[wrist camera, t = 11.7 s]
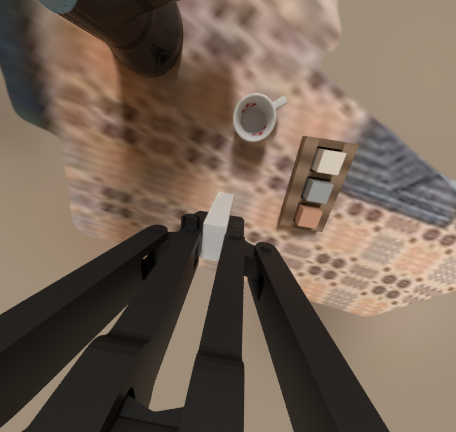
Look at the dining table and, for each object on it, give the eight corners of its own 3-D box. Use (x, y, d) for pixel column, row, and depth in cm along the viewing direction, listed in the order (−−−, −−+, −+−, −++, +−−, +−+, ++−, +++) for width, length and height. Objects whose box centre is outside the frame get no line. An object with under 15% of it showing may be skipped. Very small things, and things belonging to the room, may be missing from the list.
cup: (274, 83, 37) (280, 71, 29) (288, 121, 39) (298, 118, 32) (228, 114, 40) (224, 110, 33) (245, 147, 42) (245, 150, 35)
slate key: (307, 177, 42) (313, 181, 38) (325, 179, 42) (333, 185, 38) (301, 194, 44) (306, 200, 40) (318, 197, 44) (326, 203, 40)
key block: (302, 136, 40) (306, 136, 37) (351, 143, 40) (359, 144, 37) (278, 219, 49) (280, 224, 47) (317, 226, 49) (322, 231, 46)
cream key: (316, 148, 40) (324, 150, 36) (336, 151, 39) (346, 153, 35) (309, 168, 41) (316, 172, 37) (328, 171, 41) (337, 175, 37)
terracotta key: (298, 202, 45) (303, 209, 41) (316, 205, 45) (322, 212, 41) (293, 217, 47) (297, 225, 43) (310, 220, 47) (316, 228, 43)
